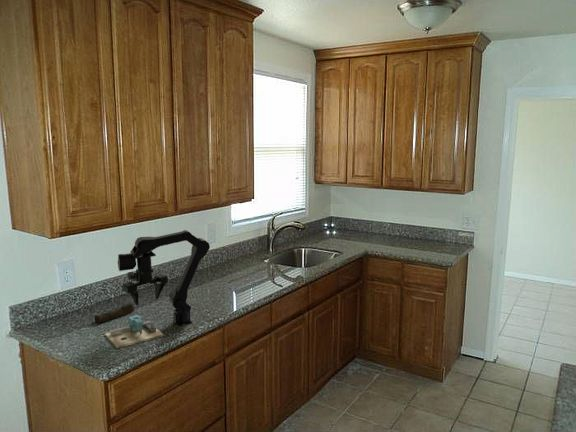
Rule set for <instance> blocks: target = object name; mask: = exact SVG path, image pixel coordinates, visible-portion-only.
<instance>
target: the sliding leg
mask: <svg viewBox="0 0 576 432" xmlns="http://www.w3.org/2000/svg"><path fill="white" fill-rule="evenodd" d="M143 322H144V321H143V318H142V317H141V316H140V315H138V314H136V315H132V316H128V326H130V325H131V326H132V331H137V330H139V332H140V334H142V325H143Z"/></svg>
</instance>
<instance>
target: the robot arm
mask: <svg viewBox="0 0 576 432" xmlns="http://www.w3.org/2000/svg"><path fill="white" fill-rule="evenodd" d="M185 241H186V242H188V243H189V244H191V252H190V253H191V254H190V257H189V260H188V263H187V265H186V266H185V269H184V272H183V274H182V276H181V278H180V281H179V283H178V285H177V286H176V287H172V288H171V291H170V293H169V295H168V296H169V298H168V301H169V303H170V305H172V307H173V308H174V310H173V314H172V316H173V317H172V318H173V320H172V322H173V323H174V324H175V325H177V326H178V327H181V326H184V325H185V326H186V325H189V324H192V323H193V321H192V320H191V309H192V306H191V305H190V304H189V303H188V302H187V300H188V293H189V292H188V291H189V287H190V286H191V284H192V281H193V278H194V277H195V274H196V271H197V269H198V268H199V265H200V263H201V261H202V259H204V257H206V255H207V254H208V252H209V250H210V246H211V245H210V243H209V241H207V240H205V239H204V238H202V237H197V236H195V235H193V234H192V233H191V232H190V231H188V230H186V229H184V230H182V231H178V232H174V233H168V234H164V235H159V236H139V237H137V238H136V239H135V242H134V246H133V248H132V249H131V250H130V253H121V254H117V268H118V271H119V272H122V271H123V272H124V271H129V270H134V269H135V268H136V267H137V268H136V269H135V272H134V271H129V272H127V279H128V280H129V282H126V283H123V284H122V286H121V291H123V292H125V293H127V294H130V296H131V297H132V299H133V301H134V303H135V305H136V306H137V307H138V306H139V291H138V288H141V287H145V286H149V285H152V284H153V285H154V294H155V295H154V297H155V300H159V297H160V296H161V292H162V291H163V289H164V287H165V286H166V285H167V283H169V277H168V276H167V275H165V274H163V273H159V274H156V275H154V276H153V273H154V269H153V267H152V265H153V264H152V258H153V257H156V256H157V255H156V253H155V252H153V251H154V250H156V249H157V248H159V247H163V246H168V245H172V244H176V243H181V242H185ZM130 280H132V281H130ZM134 282H136V283H134Z"/></svg>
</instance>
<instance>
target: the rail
mask: <svg viewBox="0 0 576 432" xmlns="http://www.w3.org/2000/svg"><path fill="white" fill-rule="evenodd" d="M150 323H152V321H150V320H146V321H143V325H142V329H144V328H145V325H146V324H150ZM128 332H132V326H131V325H130V326H129V325H126V326H122V327H118V328H114V329H111V330H110V329H109V332H108V333H110V336H111V337H112V336H116V335H120V334H124V333H128Z"/></svg>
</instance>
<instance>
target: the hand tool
mask: <svg viewBox="0 0 576 432" xmlns="http://www.w3.org/2000/svg"><path fill="white" fill-rule="evenodd" d="M133 312H135V306H134V305H133V304H132V303H127V304H123V305H122V306H121V305H120V308H117V309H114V310H113V309H112V310H111V311H108V312H105V313H102V314H97V315H94V323H95V324H97V325H100V324H103V322H106V321H109V320H112V319H115V318H118V317H121V316H128V315H129V314H132V313H133Z"/></svg>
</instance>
